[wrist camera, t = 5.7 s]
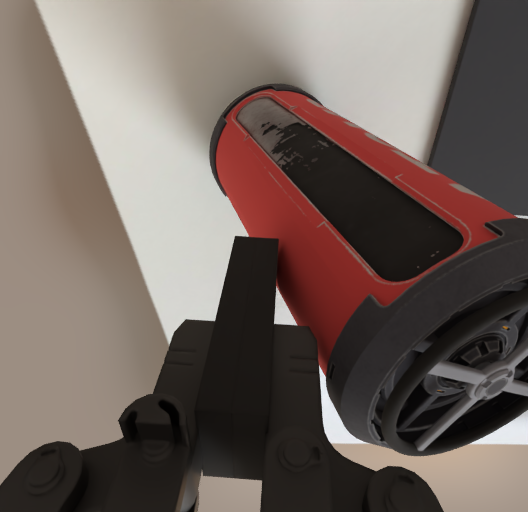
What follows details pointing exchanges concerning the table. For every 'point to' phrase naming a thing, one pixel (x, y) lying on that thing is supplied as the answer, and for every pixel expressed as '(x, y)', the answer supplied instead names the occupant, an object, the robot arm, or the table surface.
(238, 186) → the speaker
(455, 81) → the mat
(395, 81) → the table surface
